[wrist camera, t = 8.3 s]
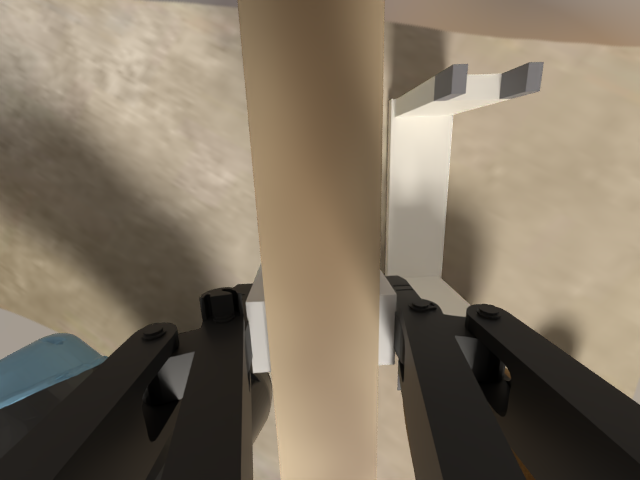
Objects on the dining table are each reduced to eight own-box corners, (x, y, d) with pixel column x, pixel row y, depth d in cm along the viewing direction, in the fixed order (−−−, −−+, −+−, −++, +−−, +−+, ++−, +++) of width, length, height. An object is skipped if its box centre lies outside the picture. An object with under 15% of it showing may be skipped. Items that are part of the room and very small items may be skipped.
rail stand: (384, 288, 41) (427, 360, 27) (388, 100, 35) (447, 62, 21) (436, 285, 42) (507, 355, 27) (449, 98, 35) (549, 60, 21)
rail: (295, 527, 17) (293, 620, 13) (247, -100, 10) (216, -236, 6) (360, 522, 17) (374, 613, 14) (359, -100, 10) (388, -235, 6)
